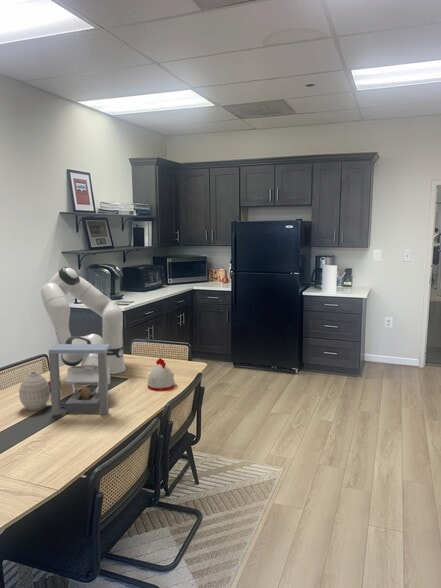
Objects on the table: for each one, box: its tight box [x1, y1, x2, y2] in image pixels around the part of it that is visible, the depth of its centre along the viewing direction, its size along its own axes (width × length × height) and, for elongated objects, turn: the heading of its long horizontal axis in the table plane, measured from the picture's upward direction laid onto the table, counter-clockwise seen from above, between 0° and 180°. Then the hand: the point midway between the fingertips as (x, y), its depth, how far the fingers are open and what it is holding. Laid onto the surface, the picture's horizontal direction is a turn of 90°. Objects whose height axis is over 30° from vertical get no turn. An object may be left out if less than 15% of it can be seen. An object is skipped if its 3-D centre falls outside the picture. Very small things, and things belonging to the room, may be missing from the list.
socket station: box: [48, 343, 110, 416], centre depth 195 cm, size 16×24×30 cm
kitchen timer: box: [147, 357, 176, 392], centre depth 224 cm, size 14×14×15 cm
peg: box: [80, 385, 91, 400], centre depth 198 cm, size 4×4×9 cm
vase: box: [18, 371, 51, 412], centre depth 196 cm, size 13×13×17 cm
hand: (85, 393), depth 197 cm, fingers open, 8 cm apart
